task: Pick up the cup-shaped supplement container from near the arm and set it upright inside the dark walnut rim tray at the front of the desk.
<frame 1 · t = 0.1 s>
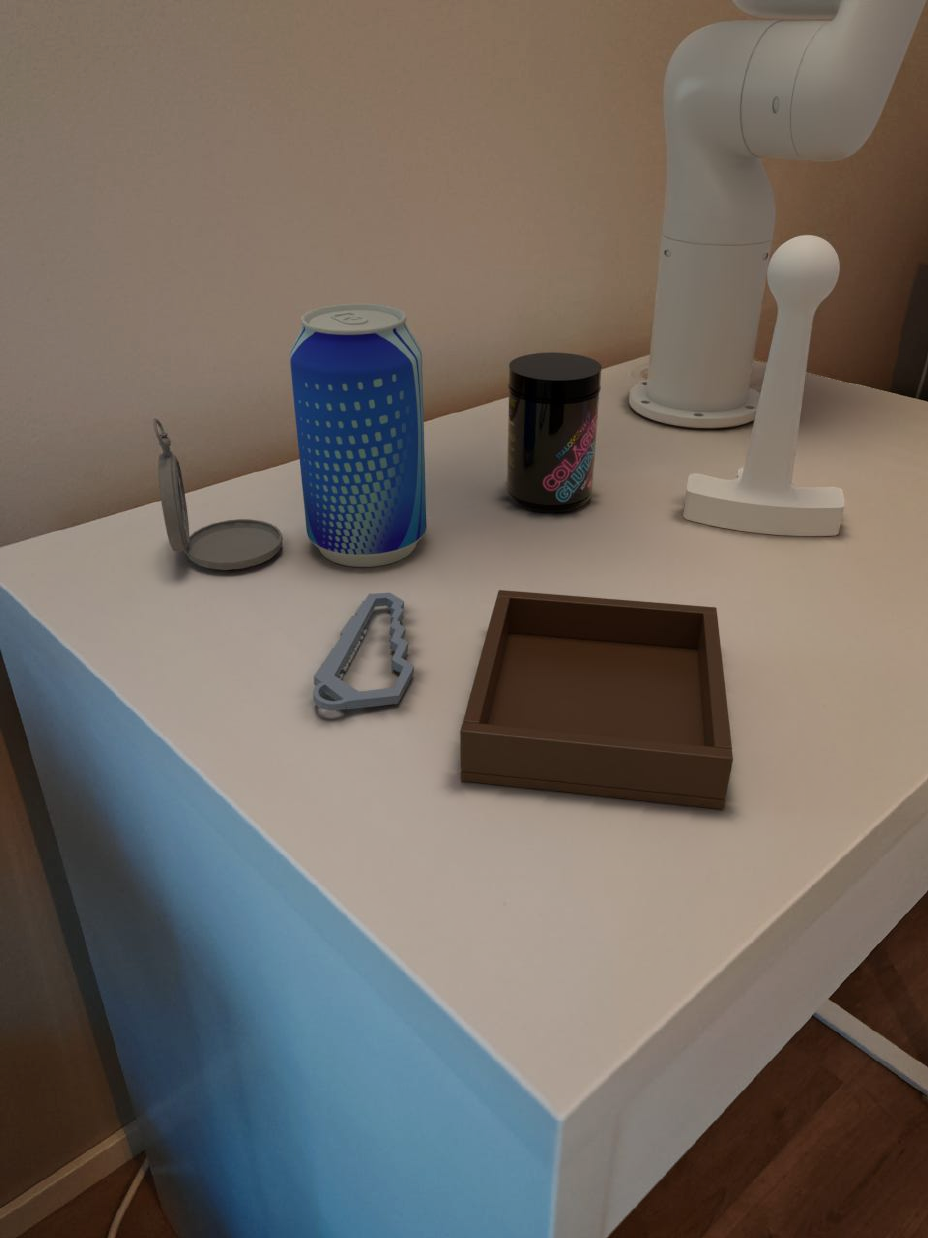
pocket watch: (218, 555, 68), on the table
tray: (596, 710, 52), on the table
joystick: (759, 513, 73), on the table
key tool: (377, 660, 56), on the table
beer can: (368, 546, 69), on the table
supplement container: (548, 499, 75), on the table
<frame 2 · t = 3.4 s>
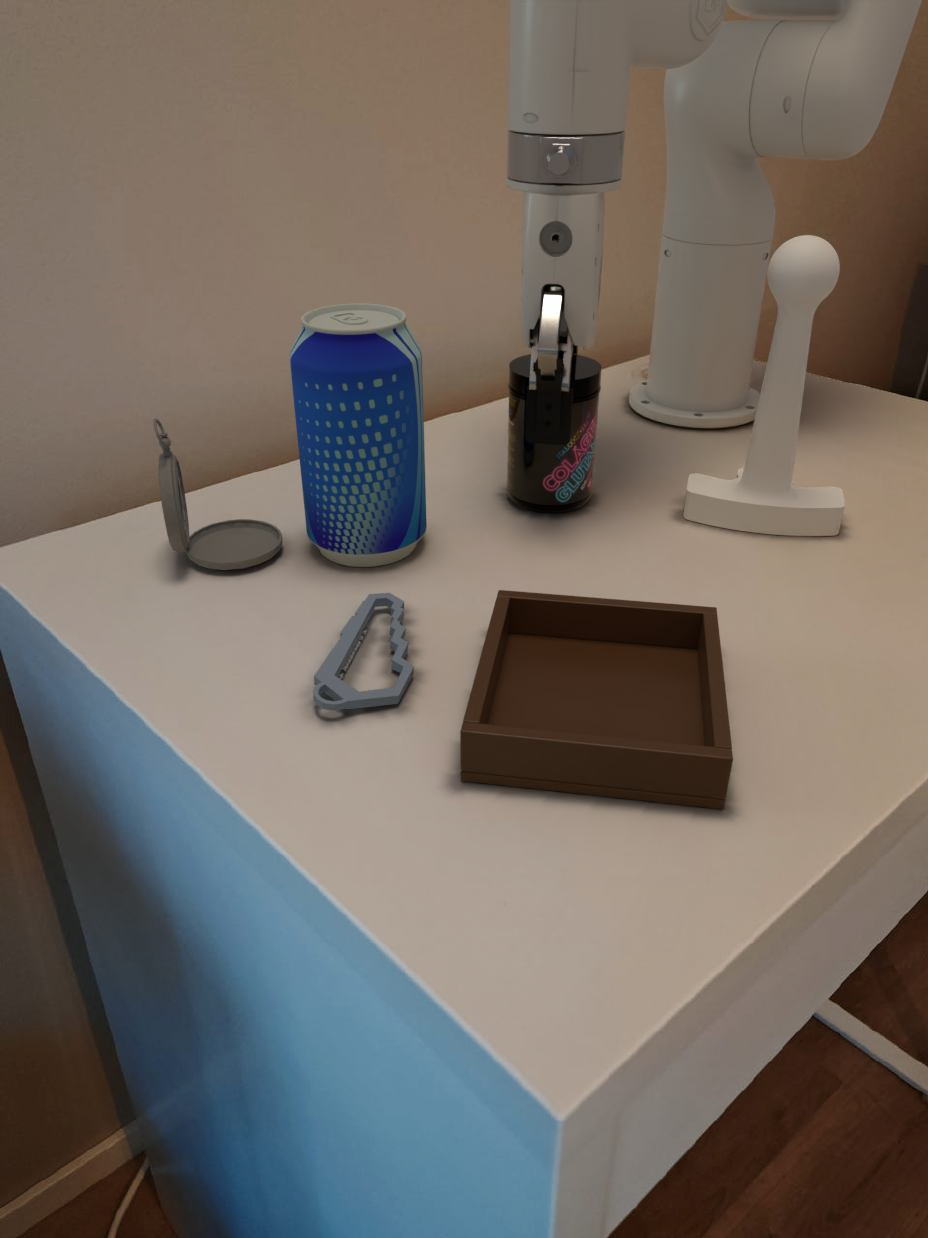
hand: (552, 422, 72), 6 cm above the table, tool pointing down, fingers closed on supplement container, 6 cm apart
supplement container: (548, 499, 75), on the table, touching gripper
everything else where it was.
when the fingers open (7 cm above the table, at t = 11.6 s): supplement container stays where it is, resting on tray.
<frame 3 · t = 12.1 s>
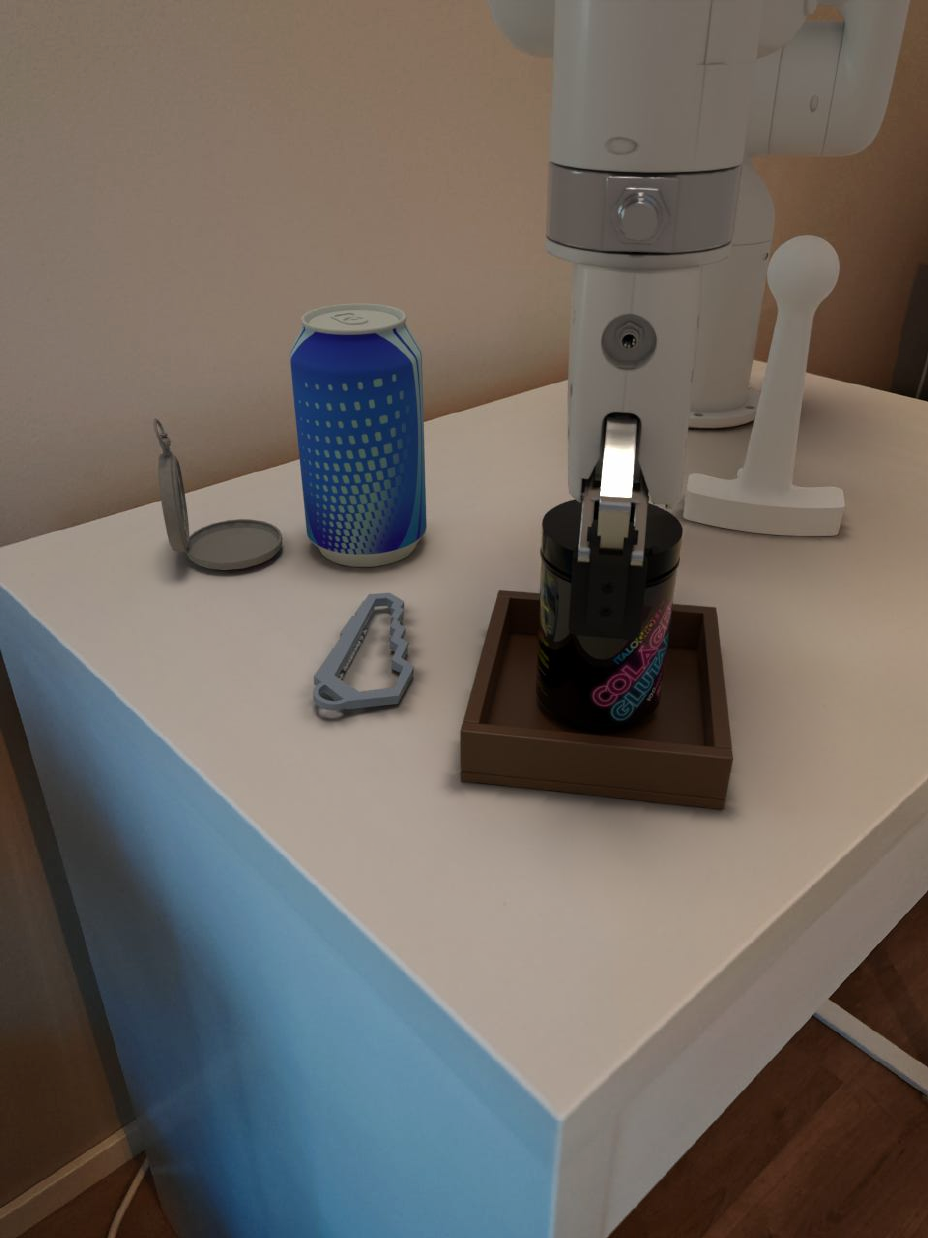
hand: (607, 581, 48), 8 cm above the table, tool pointing down, fingers open, 9 cm apart
supplement container: (596, 703, 52), resting on tray
everything else where it was.
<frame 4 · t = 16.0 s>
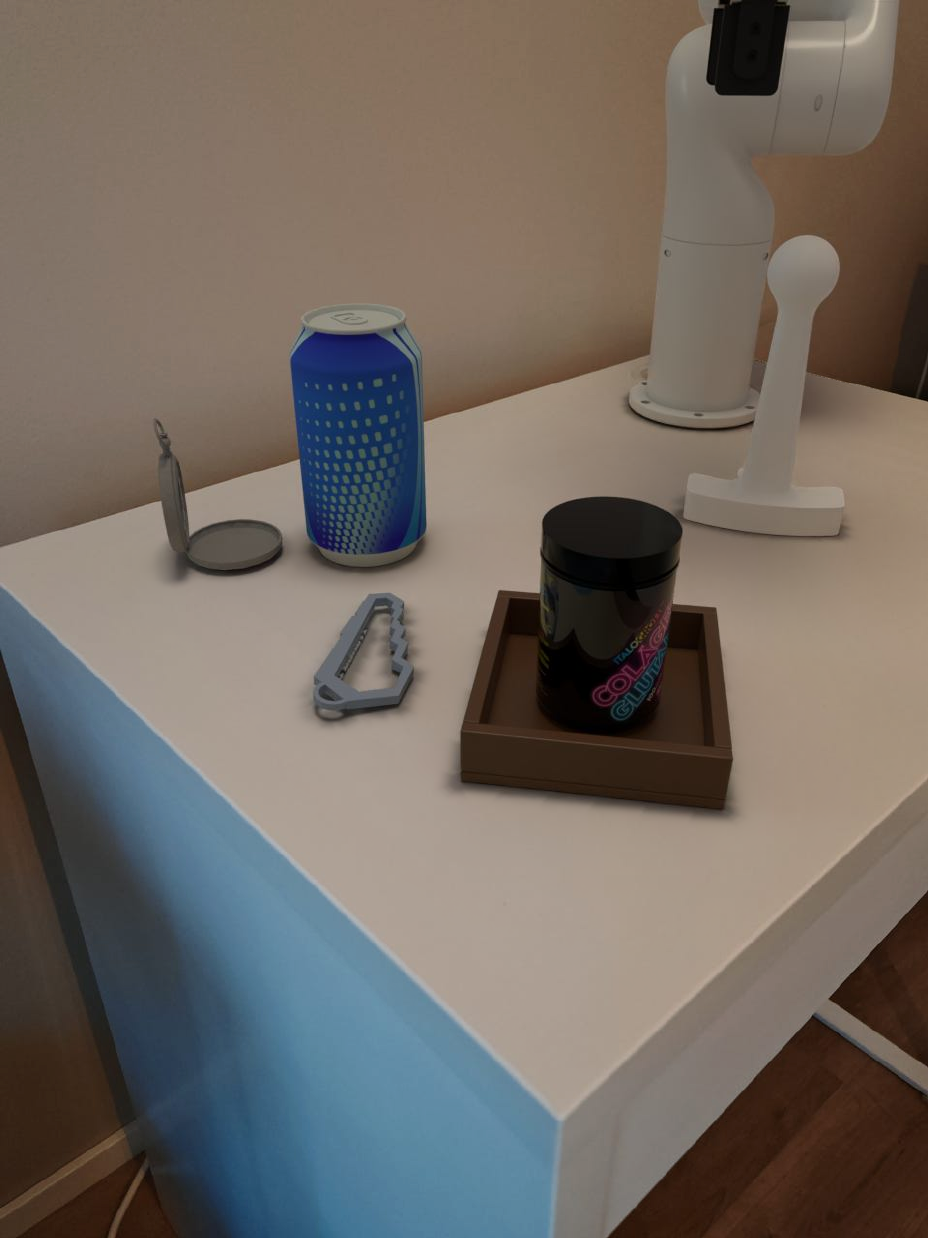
hand: (738, 89, 55), 28 cm above the table, tool pointing down, fingers open, 9 cm apart
nothing on the table moved.
at the end: supplement container inside the target area in the tray (0.1 cm from its centre), point 0.4 cm above the tray's base; supplement container tilted 0°; the gripper is holding nothing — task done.
